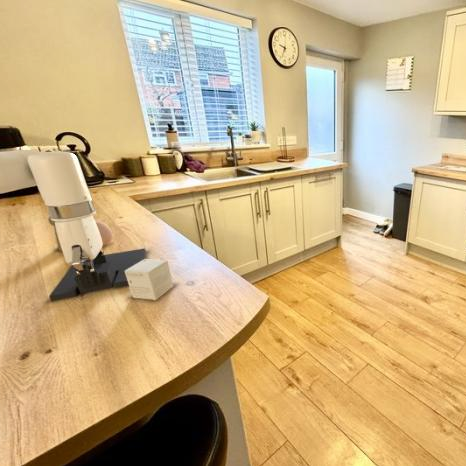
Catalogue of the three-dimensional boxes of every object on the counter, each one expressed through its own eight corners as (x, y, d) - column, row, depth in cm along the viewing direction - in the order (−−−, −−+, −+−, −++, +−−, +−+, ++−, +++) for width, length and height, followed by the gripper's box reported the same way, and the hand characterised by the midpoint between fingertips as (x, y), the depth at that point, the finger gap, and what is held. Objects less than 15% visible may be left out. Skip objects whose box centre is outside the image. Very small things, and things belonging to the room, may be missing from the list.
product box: (132, 298, 66) (122, 270, 63) (152, 284, 72) (144, 258, 69) (156, 300, 65) (148, 272, 63) (174, 286, 71) (168, 260, 68)
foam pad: (80, 294, 67) (74, 277, 66) (87, 282, 72) (81, 266, 70) (112, 288, 70) (106, 271, 68) (117, 276, 75) (112, 261, 73)
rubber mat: (51, 301, 65) (49, 296, 64) (78, 264, 81) (76, 259, 80) (137, 284, 72) (135, 279, 71) (145, 252, 88) (144, 248, 87)
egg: (85, 252, 87) (75, 227, 84) (88, 244, 93) (79, 220, 90) (114, 247, 91) (106, 222, 88) (116, 239, 97) (108, 216, 93)
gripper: (63, 201, 69) (87, 266, 76) (32, 224, 55) (65, 301, 62) (102, 198, 72) (122, 260, 79) (82, 218, 58) (109, 292, 65)
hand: (97, 277), depth 70 cm, fingers open, 7 cm apart
